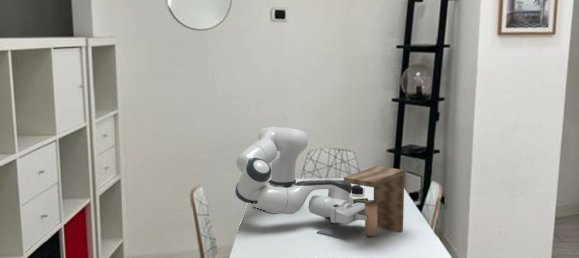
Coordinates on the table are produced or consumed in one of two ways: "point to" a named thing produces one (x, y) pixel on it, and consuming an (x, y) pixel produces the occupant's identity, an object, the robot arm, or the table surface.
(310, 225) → the table surface
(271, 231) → the table surface
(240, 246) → the table surface
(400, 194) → the walnut stand
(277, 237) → the table surface
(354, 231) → the grey mat
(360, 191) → the medicine bottle
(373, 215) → the terracotta jar
